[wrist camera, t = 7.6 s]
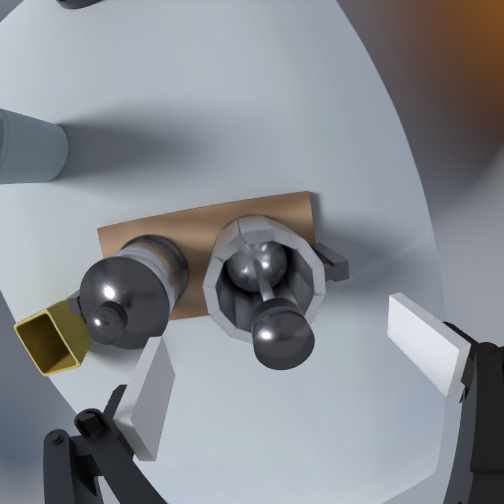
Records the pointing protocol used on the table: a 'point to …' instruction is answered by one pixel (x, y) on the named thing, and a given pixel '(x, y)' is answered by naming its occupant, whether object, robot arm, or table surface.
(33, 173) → the spray bottle
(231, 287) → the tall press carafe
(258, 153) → the table surface
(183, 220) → the serving board
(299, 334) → the plunger
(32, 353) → the flower pot
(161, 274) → the short press
